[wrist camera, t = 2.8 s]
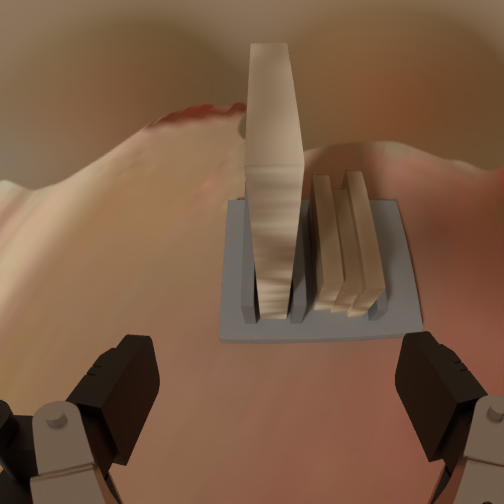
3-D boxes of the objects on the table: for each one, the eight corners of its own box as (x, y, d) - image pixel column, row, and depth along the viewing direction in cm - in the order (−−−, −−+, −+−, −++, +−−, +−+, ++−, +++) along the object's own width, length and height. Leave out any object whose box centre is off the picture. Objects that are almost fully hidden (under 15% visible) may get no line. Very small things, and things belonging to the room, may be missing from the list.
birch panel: (283, 213, 36) (286, 43, 18) (286, 318, 30) (304, 164, 13) (261, 213, 36) (250, 43, 19) (260, 318, 30) (244, 164, 13)
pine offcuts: (348, 213, 35) (361, 171, 29) (363, 316, 30) (385, 287, 24) (306, 213, 36) (312, 169, 30) (314, 318, 30) (325, 289, 24)
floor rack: (392, 207, 37) (408, 172, 32) (417, 335, 30) (446, 314, 24) (229, 207, 39) (222, 170, 33) (221, 342, 31) (209, 323, 25)
